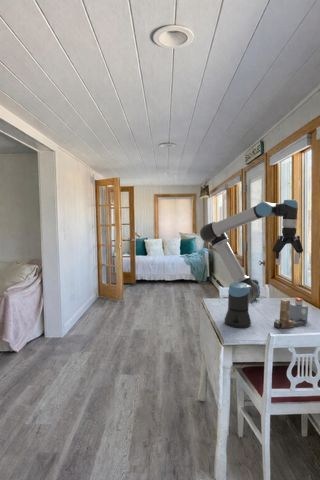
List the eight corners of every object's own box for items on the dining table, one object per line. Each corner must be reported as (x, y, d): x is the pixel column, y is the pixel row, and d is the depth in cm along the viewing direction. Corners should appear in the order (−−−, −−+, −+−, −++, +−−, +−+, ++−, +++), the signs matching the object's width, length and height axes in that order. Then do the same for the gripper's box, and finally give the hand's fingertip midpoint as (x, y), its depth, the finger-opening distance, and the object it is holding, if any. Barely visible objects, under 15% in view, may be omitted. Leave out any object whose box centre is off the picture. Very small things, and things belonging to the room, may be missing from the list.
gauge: (298, 310, 191) (299, 300, 191) (293, 308, 195) (293, 298, 195) (304, 309, 193) (304, 299, 193) (298, 307, 197) (299, 297, 197)
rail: (278, 328, 177) (279, 323, 176) (273, 326, 180) (274, 320, 180) (305, 325, 184) (306, 319, 184) (300, 323, 188) (300, 317, 187)
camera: (260, 301, 235) (260, 282, 234) (245, 300, 237) (246, 281, 236) (258, 298, 245) (259, 279, 244) (244, 297, 247) (245, 278, 246)
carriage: (282, 328, 176) (283, 302, 175) (274, 324, 182) (276, 299, 181) (293, 326, 179) (294, 301, 178) (285, 323, 185) (286, 298, 184)
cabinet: (298, 321, 190) (299, 307, 189) (288, 318, 197) (289, 304, 196) (307, 320, 192) (308, 306, 192) (297, 317, 199) (298, 303, 199)
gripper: (276, 227, 169) (274, 265, 170) (311, 227, 178) (309, 264, 179) (267, 226, 176) (265, 264, 177) (301, 227, 185) (299, 262, 186)
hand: (287, 264), depth 178 cm, fingers open, 13 cm apart
